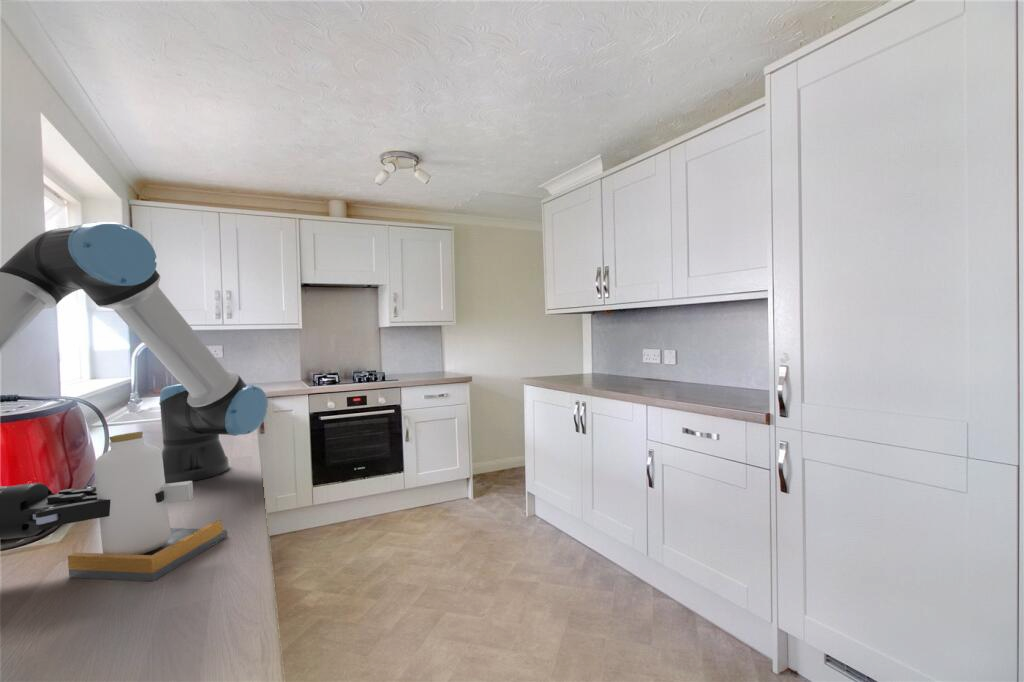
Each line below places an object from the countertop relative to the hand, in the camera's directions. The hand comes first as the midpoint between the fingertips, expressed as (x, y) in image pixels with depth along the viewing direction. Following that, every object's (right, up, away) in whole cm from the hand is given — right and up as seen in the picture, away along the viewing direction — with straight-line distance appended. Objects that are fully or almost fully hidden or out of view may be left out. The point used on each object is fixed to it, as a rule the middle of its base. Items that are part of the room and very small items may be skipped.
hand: (190, 490), depth 75 cm
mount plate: (-5, -10, -1) cm, 11 cm away
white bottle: (-6, -9, -2) cm, 11 cm away
